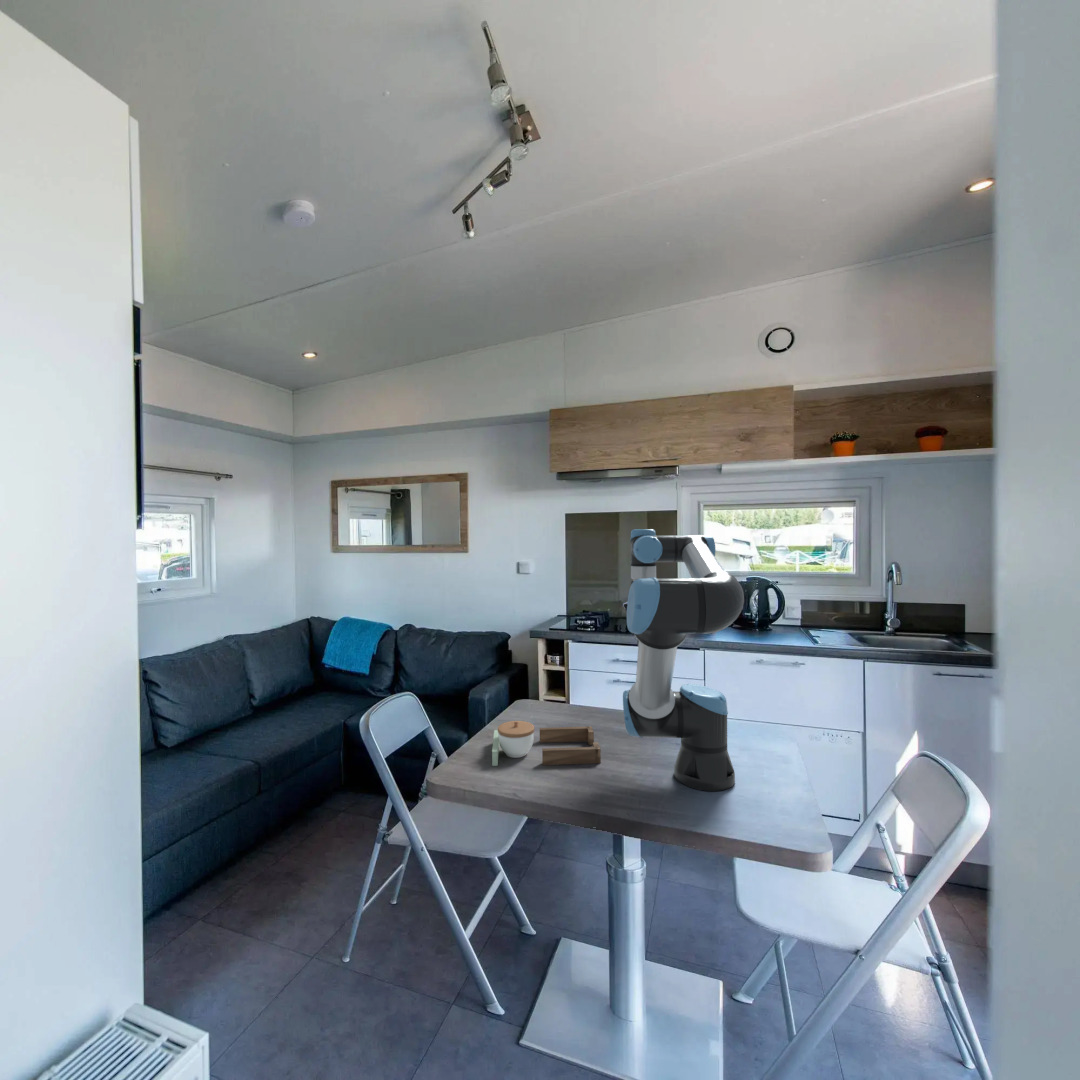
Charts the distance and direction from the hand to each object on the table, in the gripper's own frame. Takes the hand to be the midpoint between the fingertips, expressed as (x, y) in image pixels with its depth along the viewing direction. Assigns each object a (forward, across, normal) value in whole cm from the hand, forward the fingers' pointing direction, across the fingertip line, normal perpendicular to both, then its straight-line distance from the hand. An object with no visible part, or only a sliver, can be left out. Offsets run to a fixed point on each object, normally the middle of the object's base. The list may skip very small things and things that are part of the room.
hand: (644, 657), depth 157 cm
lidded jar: (+27, +39, +3) cm, 47 cm away
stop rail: (+26, +45, +3) cm, 52 cm away
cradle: (+26, +24, +3) cm, 36 cm away
